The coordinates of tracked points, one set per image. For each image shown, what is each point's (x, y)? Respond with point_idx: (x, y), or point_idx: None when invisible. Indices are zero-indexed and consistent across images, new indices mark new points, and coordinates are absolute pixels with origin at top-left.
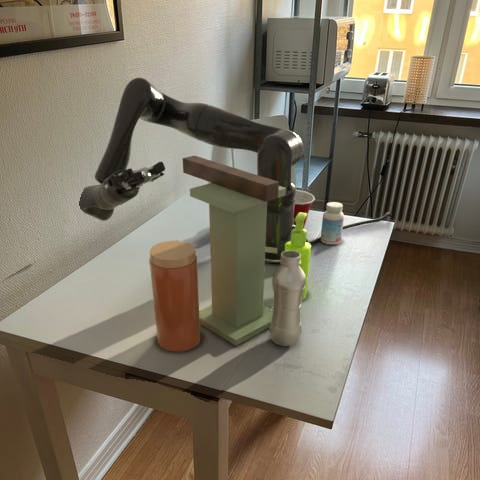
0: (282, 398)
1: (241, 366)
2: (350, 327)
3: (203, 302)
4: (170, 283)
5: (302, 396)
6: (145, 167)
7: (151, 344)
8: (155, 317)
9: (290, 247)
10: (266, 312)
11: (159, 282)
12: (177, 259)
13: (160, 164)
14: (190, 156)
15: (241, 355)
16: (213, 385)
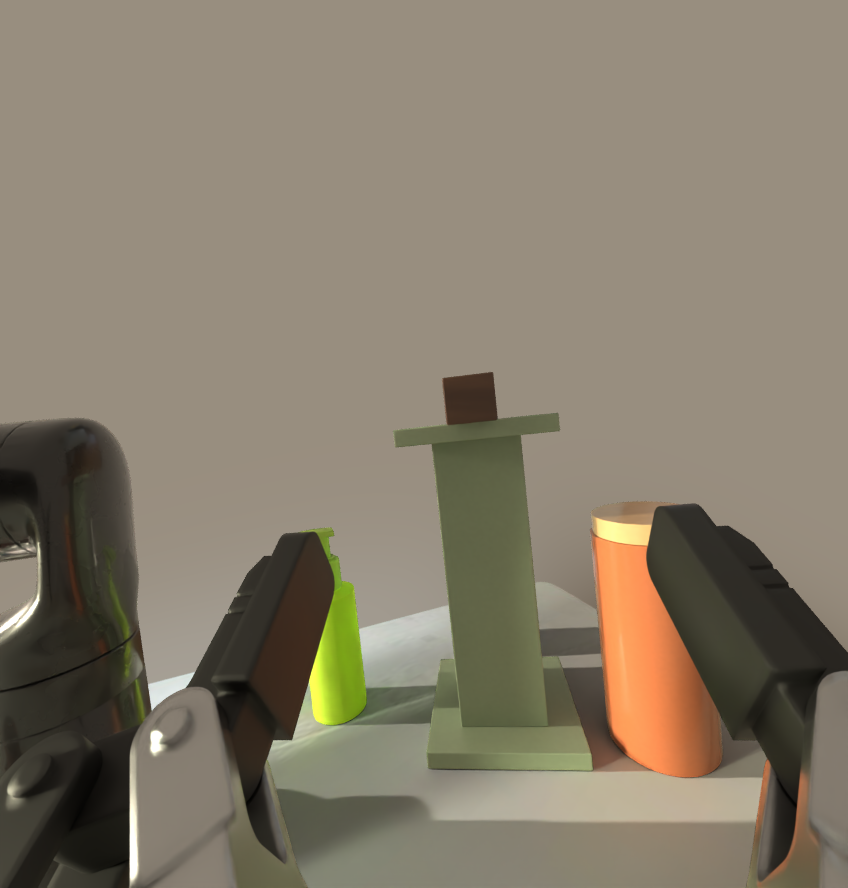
0: (567, 600)
1: (580, 641)
2: (388, 624)
3: (521, 818)
4: None
5: (545, 596)
6: (230, 823)
7: (743, 756)
8: None
9: (346, 589)
10: (452, 675)
11: None
12: (646, 501)
13: (318, 547)
14: (460, 376)
15: (564, 653)
16: None
